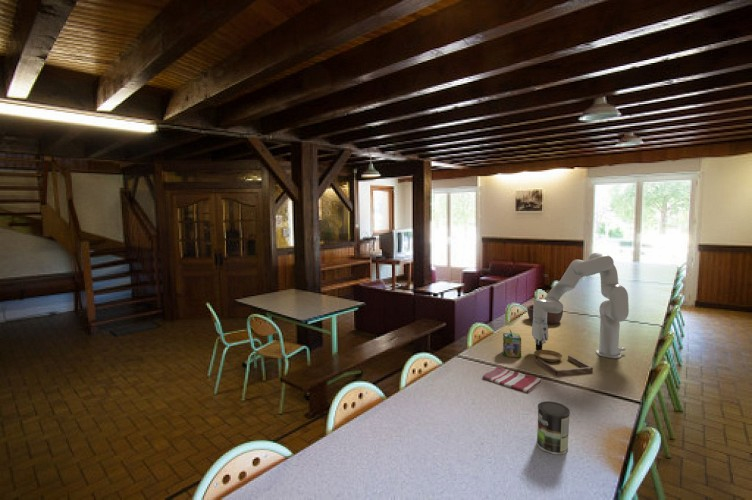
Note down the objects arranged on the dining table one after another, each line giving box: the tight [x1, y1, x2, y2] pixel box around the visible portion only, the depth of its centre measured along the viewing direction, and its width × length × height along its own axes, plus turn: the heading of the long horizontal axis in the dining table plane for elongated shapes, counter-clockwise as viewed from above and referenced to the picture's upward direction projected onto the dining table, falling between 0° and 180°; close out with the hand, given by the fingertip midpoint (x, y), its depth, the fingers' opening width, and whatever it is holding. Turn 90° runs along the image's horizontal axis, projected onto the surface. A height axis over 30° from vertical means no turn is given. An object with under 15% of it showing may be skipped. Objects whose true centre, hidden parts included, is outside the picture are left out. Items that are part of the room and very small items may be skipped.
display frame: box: [535, 354, 594, 377], centre depth 206 cm, size 21×18×2 cm
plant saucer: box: [533, 349, 563, 363], centre depth 218 cm, size 15×15×3 cm
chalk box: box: [502, 329, 522, 358], centre depth 225 cm, size 9×9×15 cm
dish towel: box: [482, 365, 543, 394], centre depth 191 cm, size 17×23×3 cm
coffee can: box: [536, 400, 571, 455], centre depth 137 cm, size 10×10×14 cm
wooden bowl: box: [526, 303, 564, 325], centre depth 292 cm, size 25×25×10 cm
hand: (538, 350), depth 227 cm, fingers closed
